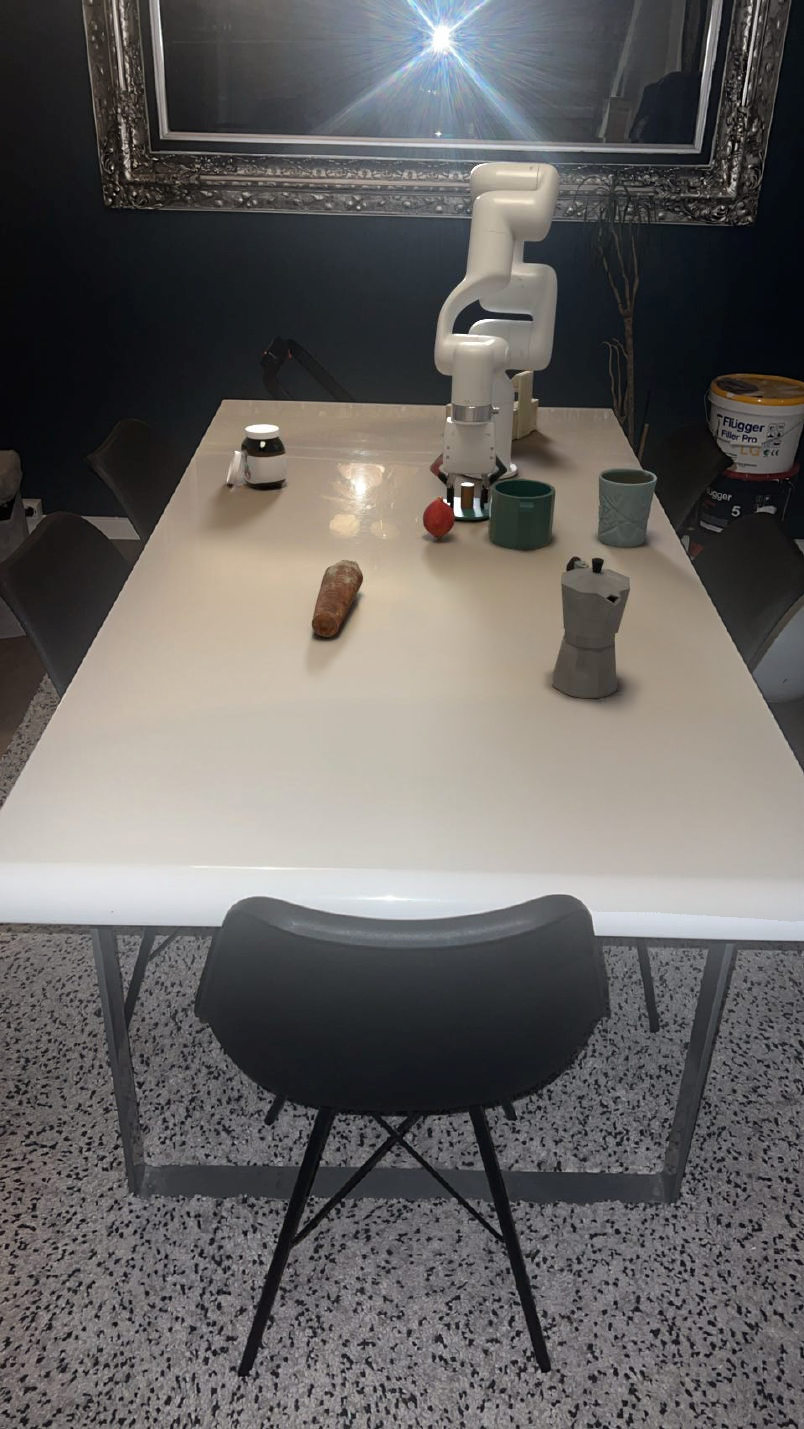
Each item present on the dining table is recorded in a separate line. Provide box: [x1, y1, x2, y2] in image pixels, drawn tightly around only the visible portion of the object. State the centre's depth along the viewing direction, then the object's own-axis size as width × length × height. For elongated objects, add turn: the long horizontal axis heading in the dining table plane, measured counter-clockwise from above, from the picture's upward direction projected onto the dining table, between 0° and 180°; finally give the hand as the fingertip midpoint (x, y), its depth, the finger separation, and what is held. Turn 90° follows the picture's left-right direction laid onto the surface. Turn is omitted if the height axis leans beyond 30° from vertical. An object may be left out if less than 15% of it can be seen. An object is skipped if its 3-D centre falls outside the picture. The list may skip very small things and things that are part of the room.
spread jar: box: [226, 424, 288, 490], centre depth 215 cm, size 12×11×12 cm
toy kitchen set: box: [444, 370, 539, 441], centre depth 254 cm, size 18×17×15 cm
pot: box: [487, 477, 557, 551], centre depth 188 cm, size 11×17×10 cm
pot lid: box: [443, 482, 490, 521], centre depth 202 cm, size 12×12×6 cm
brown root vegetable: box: [311, 559, 364, 638], centre depth 158 cm, size 6×19×6 cm, turn 171°
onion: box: [422, 495, 456, 539], centre depth 188 cm, size 6×6×8 cm
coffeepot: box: [551, 556, 631, 699], centre depth 137 cm, size 15×9×18 cm, turn 13°
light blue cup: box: [597, 467, 658, 548], centre depth 188 cm, size 10×10×12 cm
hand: (466, 505), depth 203 cm, fingers open, 5 cm apart
